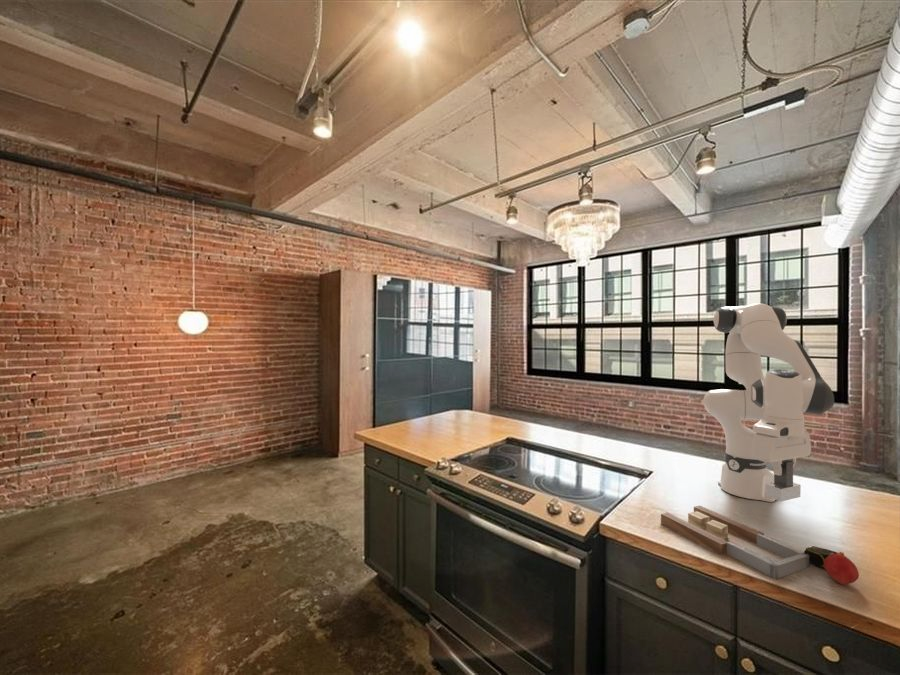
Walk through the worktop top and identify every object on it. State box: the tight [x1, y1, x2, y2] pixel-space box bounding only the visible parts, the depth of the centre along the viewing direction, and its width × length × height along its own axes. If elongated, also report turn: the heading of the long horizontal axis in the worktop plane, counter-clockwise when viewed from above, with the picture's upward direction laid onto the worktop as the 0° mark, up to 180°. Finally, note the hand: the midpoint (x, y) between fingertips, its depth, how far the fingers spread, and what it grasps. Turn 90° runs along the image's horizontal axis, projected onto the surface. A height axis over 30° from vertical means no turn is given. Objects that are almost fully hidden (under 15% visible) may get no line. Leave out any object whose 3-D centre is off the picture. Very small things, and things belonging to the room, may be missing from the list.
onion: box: [823, 551, 860, 586], centre depth 90 cm, size 6×6×8 cm
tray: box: [726, 534, 810, 580], centre depth 99 cm, size 14×12×3 cm
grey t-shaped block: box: [767, 460, 802, 502], centre depth 106 cm, size 9×4×10 cm, turn 110°
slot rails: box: [660, 505, 765, 556], centre depth 113 cm, size 18×19×3 cm
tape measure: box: [803, 545, 838, 569], centre depth 97 cm, size 7×7×4 cm
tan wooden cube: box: [687, 511, 709, 531], centre depth 117 cm, size 4×4×4 cm
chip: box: [705, 520, 729, 541], centre depth 111 cm, size 4×4×4 cm
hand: (783, 473), depth 106 cm, fingers closed on grey t-shaped block, 3 cm apart
